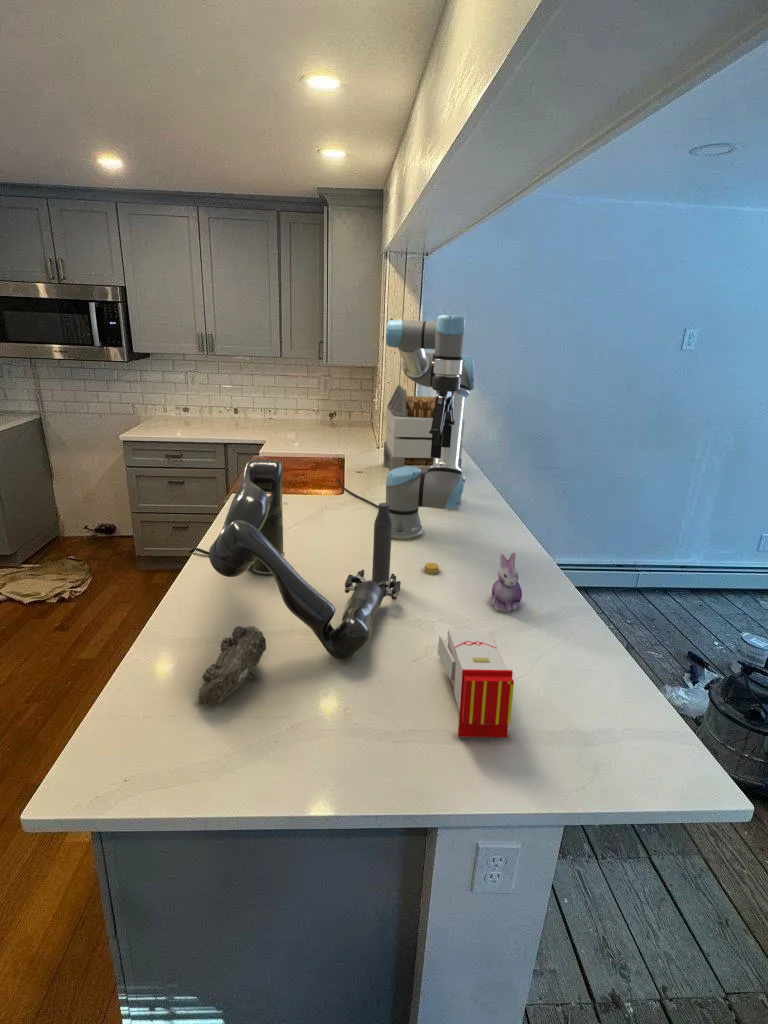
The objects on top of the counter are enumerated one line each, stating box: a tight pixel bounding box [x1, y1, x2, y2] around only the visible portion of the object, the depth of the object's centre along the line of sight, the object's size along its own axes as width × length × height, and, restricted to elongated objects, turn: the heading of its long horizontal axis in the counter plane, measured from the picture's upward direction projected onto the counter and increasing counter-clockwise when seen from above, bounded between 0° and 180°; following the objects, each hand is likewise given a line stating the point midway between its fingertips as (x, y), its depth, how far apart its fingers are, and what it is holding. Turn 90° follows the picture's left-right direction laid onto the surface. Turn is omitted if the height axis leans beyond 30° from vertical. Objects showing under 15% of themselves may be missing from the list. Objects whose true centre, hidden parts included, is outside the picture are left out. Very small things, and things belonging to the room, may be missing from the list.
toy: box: [437, 628, 515, 738], centre depth 117 cm, size 12×13×30 cm
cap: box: [424, 562, 440, 575], centre depth 172 cm, size 4×4×2 cm
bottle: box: [371, 502, 392, 586], centre depth 160 cm, size 5×5×24 cm
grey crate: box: [383, 384, 465, 472], centre depth 268 cm, size 34×33×41 cm
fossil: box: [197, 625, 267, 705], centre depth 118 cm, size 22×10×15 cm
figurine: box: [490, 551, 523, 613], centre depth 152 cm, size 9×10×15 cm
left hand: (378, 574), depth 156 cm, fingers open, 8 cm apart
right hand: (440, 452), depth 160 cm, fingers open, 13 cm apart
